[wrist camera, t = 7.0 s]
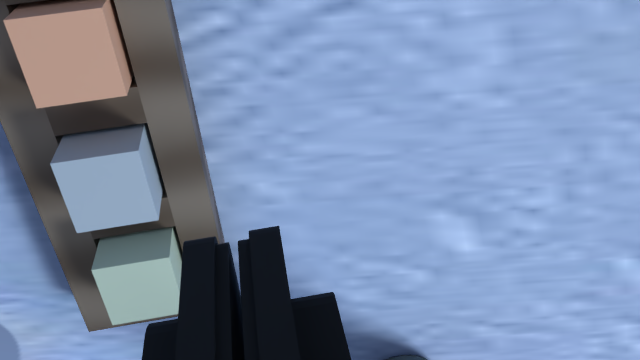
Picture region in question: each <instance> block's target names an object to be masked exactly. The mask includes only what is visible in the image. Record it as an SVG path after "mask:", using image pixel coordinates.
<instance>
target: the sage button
mask: <svg viewBox="0 0 640 360" xmlns="http://www.w3.org/2000/svg"><path fill="white" fill-rule="evenodd" d="M182 254H183V252H182V248H181V244H180V241H179V237H178V233H177V230H176V226H172V227H166V228H160V229H154V230H147V231H141V232H135V233H129V234H122V235H116V236H110V237H104V238H100V240H99V243H98V247H97V251H96V254H95V258H94V262H93V265H92V269H91V271H92V273H93V276H94V279H95V281H96V284H97V286H98V289H99V292H100V294H101V297H102V299H103V302H104V304H105V307H106V310H107V312H108V315H109V317H110V320H111V322H112V325H117V324H123V323H129V322H135V321H141V320H146V319H152V318H158V317H164V316H169V315H175V314H178V310H179V296H180V282H181V268H182Z"/></svg>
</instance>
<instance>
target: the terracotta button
mask: <svg viewBox="0 0 640 360" xmlns="http://www.w3.org/2000/svg"><path fill="white" fill-rule="evenodd" d="M3 21H4V24H5V27H6V29H7V32H8V34H9V37H10V40H11V42H12V45H13V48H14V50H15V53H16V56H17V58H18V61H19V63H20V66H21V69H22V71H23V74H24V77H25V79H26V82H27V84H28V87H29V90H30V92H31V95H32V98H33V100H34V103H35V106H36V108H44V107H51V106H58V105H65V104H72V103H79V102H86V101H93V100H101V99H108V98H115V97H122V96H127V94H128V91H129V88H130V85H131V81H132V78H133V75H134V72H133V69H132V65H131V61H130V58H129V54H128V50H127V47H126V43H125V39H124V36H123V32H122V28H121V25H120V21H119V17H118V14H117V10H116V6H115V3H114V0H44V1H36V2H28V3H21V4H20V5H19V6H18V7H17V8H16V9H14V10H13V11H12V12H11V13H10V14H9V15H8V16H7V17H6V18H5V19H4V20H3Z"/></svg>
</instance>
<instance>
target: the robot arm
mask: <svg viewBox="0 0 640 360" xmlns="http://www.w3.org/2000/svg"><path fill="white" fill-rule="evenodd" d="M238 252H239V270H240V287H241V295H240V290H239V286H238V281H237V276H236V272H235V267H234V263H233V258H232V253H231V249H230V245H229V243H222V244H218V242H217V239H216V237H215V236H214V237H208V238H202V239H196V240H189V241H184V243H183V254H182V268H181V282H180V296H179V310H178V319H174V320H169V321H163V322H157V323H151V324H149V325H148V326H147V329H146V333H145V340H144V347H143V355H142V360H351V357H350V353H349V349H348V345H347V341H346V338H345V334H344V330H343V326H342V322H341V318H340V314H339V310H338V306H337V302H336V299H335V295H334V293H333V292H330V293H324V294H319V295H313V296H307V297H301V298H296V299H291V298H290V292H289V285H288V279H287V273H286V267H285V260H284V254H283V248H282V242H281V236H280V229H279V226H275V227H269V228H263V229H257V230H251V231H249V239H246V240H240V241H238Z"/></svg>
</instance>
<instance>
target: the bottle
mask: <svg viewBox="0 0 640 360" xmlns="http://www.w3.org/2000/svg"><path fill="white" fill-rule="evenodd" d="M387 360H427V359H426V358H422V357H419V356H416V355H402V356H397V357H392V358H389V359H387Z"/></svg>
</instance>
